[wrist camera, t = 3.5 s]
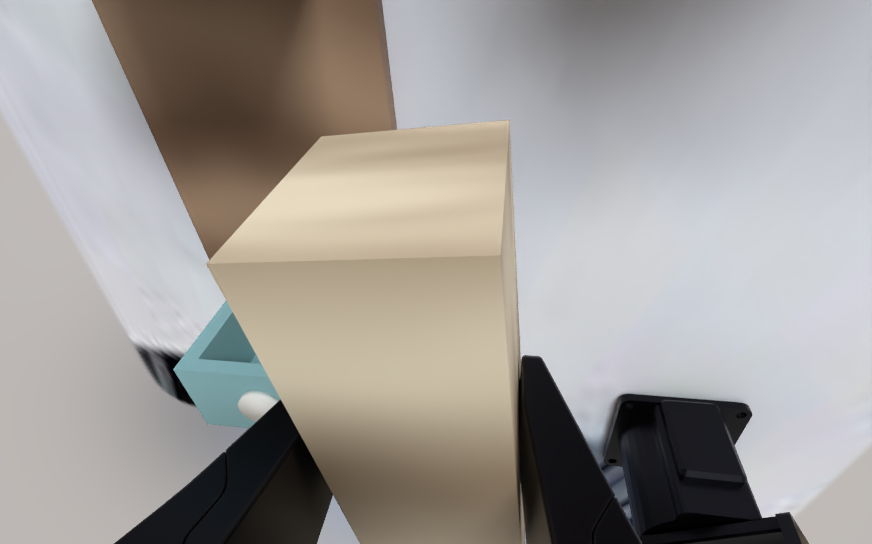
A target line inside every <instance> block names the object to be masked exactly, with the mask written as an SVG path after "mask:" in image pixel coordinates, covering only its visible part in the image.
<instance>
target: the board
mask: <svg viewBox="0 0 872 544" xmlns="http://www.w3.org/2000/svg"><path fill="white" fill-rule="evenodd" d="M92 2H93V4H94V6H95V8H96V11H97V13H98V15H99V17H100V19H101V22H102V24H103V26H104V28H105V30H106V33H107V35H108V37H109V39H110V41H111V44H112V46H113V48H114V50H115V53H116V55H117V57H118V59H119V61H120V64H121V66H122V68H123V70H124V72H125V75H126V77H127V79H128V81H129V83H130V86H131V88H132V90H133V92H134V94H135V97H136V99H137V101H138V103H139V105H140V108H141V110H142V112H143V114H144V117H145V119H146V121H147V123H148V125H149V128H150V130H151V132H152V134H153V136H154V139H155V141H156V143H157V145H158V147H159V150H160V152H161V154H162V156H163V158H164V161H165V163H166V165H167V167H168V170H169V172H170V174H171V176H172V178H173V181H174V183H175V185H176V187H177V189H178V192H179V194H180V196H181V198H182V200H183V203H184V205H185V207H186V209H187V211H188V214H189V216H190V218H191V220H192V222H193V225H194V227H195V229H196V231H197V234H198V236H199V238H200V240H201V242H202V245H203V247H204V249H205V251H206V253H207V256H208V258H209V260H210V259H211V258H212V257H213V256H214V255H215V254H216V252H217V251H218V250H219V249H220V248H221V247H222V246H223V245H224V244H225V242H226V241H227V240H228V239H229V238H230V237H231V236H232V235H233V234H234V232H235V231H236V230H237V229H238V228H239V227H240V226H241V225H242V224H243V223H244V221H245V220H246V219H247V218H248V217H249V216H250V215H251V214H252V213H253V211H254V210H255V209H256V208H257V207H258V206H259V205H260V204H261V203H262V201H263V200H264V199H265V198H266V197H267V196H268V195H269V194H270V193H271V191H272V190H273V189H274V188H275V187H276V186H277V185H278V184H279V183H280V182H281V180H282V179H283V178H284V177H285V176H286V175H287V174H288V173H289V172H290V170H291V169H292V168H293V167H294V166H295V165H296V164H297V163H298V162H299V160H300V159H301V158H302V157H303V156H304V155H305V154H306V153H307V152H308V151H309V149H310V148H311V147H312V146H313V145H314V144H315V143H316V142H317V141H318V139H319V138H320V137H322V136H333V135H344V134H356V133H367V132H378V131H390V130H397V127H396V118H395V110H394V101H393V93H392V85H391V76H390V68H389V59H388V51H387V43H386V34H385V26H384V17H383V9H382V0H92Z"/></svg>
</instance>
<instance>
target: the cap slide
mask: <svg viewBox="0 0 872 544" xmlns="http://www.w3.org/2000/svg"><path fill="white" fill-rule="evenodd" d="M173 370H174V371H175V373H176V374H177V376H178V378H179V379H180V381H181V382H182V384H183V386H184V387H185V389H186V390H187V392H188V394H189V395H190V397H191V398H192V400H193V402H194V403H195V405H196V406H197V408H198V410H199V411H200V413H201V414H202V416H203V418H204V419H205V421H206V422H207V424H213V425H224V426H233V427H243V428H250V427H251V426H252V425H253V424H254V423H255V422H256V421H258V420H259V419H260V418H261V417H262V416H263V415H264V414H265V413H266V412H267V411H268V410H269V409H270V408H272V407H273V406H274V405H275V404H276V403H277V402H278V401H279V400H280V397H279V395H278V393H277V392H276V390H275V388H274V386H273V384H272V383H271V381H270V379H269V377H268V375H267V373H266V372H265V370H264V368H263V366H262V364H261V363H260V361H259V359H258V357H257V355H256V353H255V352H254V350H253V348H252V346H251V344H250V343H249V341H248V339H247V337H246V335H245V333H244V332H243V330H242V328H241V326H240V324H239V323H238V321H237V319H236V317H235V315H234V313H233V312H232V310H231V308H230V306H229V304H228V303H227V301H226V302H225V303H224V304H223V305H222V307H221V308H220V309H219V311H218V312H217V313H216V315H215V316H214V317H213V318H212V320H211V321H210V322H209V324H208V325H207V326H206V328H205V329H204V330H203V331H202V333H201V334H200V335H199V337H198V338H197V339H196V341H195V342H194V343H193V344H192V346H191V347H190V348H189V350H188V351H187V352H186V354H185V355H184V356H183V357H182V359H181V360H180V361H179V363H178V364H177V365H176V366H175V368H174V369H173Z"/></svg>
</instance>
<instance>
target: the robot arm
mask: <svg viewBox="0 0 872 544" xmlns="http://www.w3.org/2000/svg"><path fill="white" fill-rule="evenodd" d="M751 417H752V412H751V410H750V408H749V406H748V405H747V404H744V403H736V402H723V401H711V400H698V399H685V398H673V397H660V396H647V395H634V394H626V395H623V396H621V397H620V398H619V401H618V404H617V408H616V411H615V415H614V418H613V422H612V425H611V429H610V432H609V436H608V439H607V443H606V446H605V450H604V453H603V457H604V462H605V463H606V464H607V465H612V466H621V467H623V470H624V476H625V481H626V487H627V493H628V498H629V504H630V509H631V515H632V520H633V526H634V528H633V526H632V525H631V523H630V521H629V519H628V518H627V516H626V514H625V512H624V510H623V508H622V506H621V505H620V503H619V501H618V499H617V498H614V496H615V494H614V492H613V490H612V488H611V486H610V484H609V483H608V481H607V479H606V477H605V475H604V473H603V471H602V469H601V468H600V466H599V464H598V462H597V460H596V458H595V456H594V454H593V453H592V451H591V449H590V447H589V445H588V443H587V441H586V440H585V438H584V436H583V434H582V432H581V430H580V428H579V426H578V425H577V423H576V421H575V419H574V417H573V415H572V413H571V411H570V410H569V408H568V406H567V404H566V402H565V400H564V398H563V396H562V395H561V393H560V391H559V389H558V387H557V385H556V383H555V382H554V380H553V378H552V376H551V374H550V372H549V370H548V368H547V367H546V365H545V363H544V361H543V359H542V358H541V357H539V356H528V355H524V356H523V357H522V360H521V372H520V401H519V448H520V482H521V492H522V502H523V513H524V523H525V532H526V543H527V544H809V543H808V541H807V540H806V538H805V536H804V535H803V533H802V532H801V530H800V528H799V527H798V525H797V524H796V522H795V520H794V519H793V517H792V515H791V514H790V512H786V513H779V514H775V515H776V516H775V517H768V518H762V516H761V514H760V511H759V509H758V506H757V504H756V501H755V499H754V496H753V494H752V491H751V488H750V486H749V483H748V481H747V477H746V474H745V471H744V469H743V466H742V464H741V461H740V459H739V456H738V454H737V451H736V449H735V446H734V445H735V444H736V442H737V440H738V439H739V437H740V435H741V433H742V432H743V430H744V428H745V427H746V425H747V423H748V422H749V420H750V418H751ZM332 496H333V493H332V492H331V490H330V488H329V486H328V484H327V482H326V481H325V479H324V477H323V475H322V473H321V472H320V470H319V468H318V466H317V464H316V462H315V461H314V459H313V457H312V455H311V453H310V452H309V450H308V448H307V446H306V444H305V442H304V441H303V439H302V437H301V435H300V433H299V432H298V430H297V428H296V426H295V424H294V423H293V421H292V419H291V417H290V415H289V413H288V412H287V410H286V408H285V406H284V404H283V403H282V401H281V399H280V400H279V401H278V402H277V403H276V404H275V405H274V406H273V407H272V408H270V409H269V410H268V411H267V412H266V413H265V414H264V415H263V416H262V417H261V418H260V419H259V420H258V421H256V422H255V423H254V424H253V425H252V426H251V427H250V428H249V429H248V430H247V431H246V432H245V433H244V434H243V435H241V436H240V437H239V438H238V439H237V440H236V441H235V442H234V443H233V444H232V445H231V446H230V447H229V448H228V449H227V450H226V452H223V453H222V454H221V455H220V456H219V457H218V458H216V460H214V461H213V462H212V463H211V464H210V465H209V466H208V467H207V468H206V469H205V470H204V471H202V472H201V473H200V474H199V475H198V476H197V477H195V478H194V479H193V480H192V481H191V482H190V483H189V484H188V485H187V486H185V487H184V488H183V489H182V490H180V491H179V492H178V493H177V494H175V495H174V496H173V497H172V498H171V499H170V500H168V501H167V502H166V503H165V504H163V505H162V506H161V507H160V508H158V509H157V510H156V511H155V512H153V513H152V514H151V515H149V516H148V517H147V518H146V519H144V520H143V521H142V522H141V523H139V524H138V525H137V526H136V527H134V528H133V529H132V530H131V531H129V532H128V533H127V534H126V535H124V536H123V537H122V538H120V539H119V540H118V541H117V542H115V543H114V544H317V541H318V538H319V535H320V532H321V529H322V526H323V523H324V520H325V517H326V514H327V511H328V508H329V505H330V502H331V499H332Z"/></svg>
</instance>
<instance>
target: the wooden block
mask: <svg viewBox="0 0 872 544" xmlns="http://www.w3.org/2000/svg"><path fill="white" fill-rule="evenodd" d="M206 264H207V266H208V268H209V270H210V272H211V273H212V275H213V277H214V279H215V281H216V283H217V284H218V286H219V288H220V290H221V292H222V293H223V295H224V297H225V299H226V301H227V303H228V304H229V306H230V308H231V310H232V312H233V313H234V315H235V317H236V319H237V321H238V323H239V324H240V326H241V328H242V330H243V332H244V333H245V335H246V337H247V339H248V341H249V343H250V344H251V346H252V348H253V350H254V352H255V353H256V355H257V357H258V359H259V361H260V363H261V364H262V366H263V368H264V370H265V372H266V373H267V375H268V377H269V379H270V381H271V383H272V384H273V386H274V388H275V390H276V392H277V393H278V395H279V397H280V399H281V401H282V403H283V404H284V406H285V408H286V410H287V412H288V413H289V415H290V417H291V419H292V421H293V423H294V424H295V426H296V428H297V430H298V432H299V433H300V435H301V437H302V439H303V441H304V442H305V444H306V446H307V448H308V450H309V452H310V453H311V455H312V457H313V459H314V461H315V462H316V464H317V466H318V468H319V470H320V472H321V473H322V475H323V477H324V479H325V481H326V482H327V484H328V486H329V488H330V490H331V492H332V493H333V495H334V497H335V499H336V501H337V502H338V504H339V506H340V508H341V510H342V512H343V513H344V515H345V517H346V519H347V521H348V522H349V524H350V526H351V528H352V530H353V531H354V533H355V535H356V537H357V539H358V541H359V542H360V544H525V523H524V513H523V502H522V492H521V482H520V448H519V401H520V372H521V358H520V336H519V314H518V292H517V271H516V249H515V227H514V205H513V184H512V162H511V140H510V120H503V121H492V122H480V123H469V124H458V125H446V126H435V127H424V128H412V129H401V130H390V131H378V132H367V133H356V134H344V135H333V136H322V137H320V138H319V139H318V141H317V142H316V143H315V144H314V145H313V146H312V147H311V148H310V149H309V151H308V152H307V153H306V154H305V155H304V156H303V157H302V158H301V159H300V160H299V162H298V163H297V164H296V165H295V166H294V167H293V168H292V169H291V170H290V172H289V173H288V174H287V175H286V176H285V177H284V178H283V179H282V180H281V182H280V183H279V184H278V185H277V186H276V187H275V188H274V189H273V190H272V191H271V193H270V194H269V195H268V196H267V197H266V198H265V199H264V200H263V201H262V203H261V204H260V205H259V206H258V207H257V208H256V209H255V210H254V211H253V213H252V214H251V215H250V216H249V217H248V218H247V219H246V220H245V221H244V223H243V224H242V225H241V226H240V227H239V228H238V229H237V230H236V231H235V232H234V234H233V235H232V236H231V237H230V238H229V239H228V240H227V241H226V242H225V244H224V245H223V246H222V247H221V248H220V249H219V250H218V251H217V252H216V254H215V255H214V256H213V257H212V258H211V259H210V260H209V261H208V262H207V263H206Z"/></svg>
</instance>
